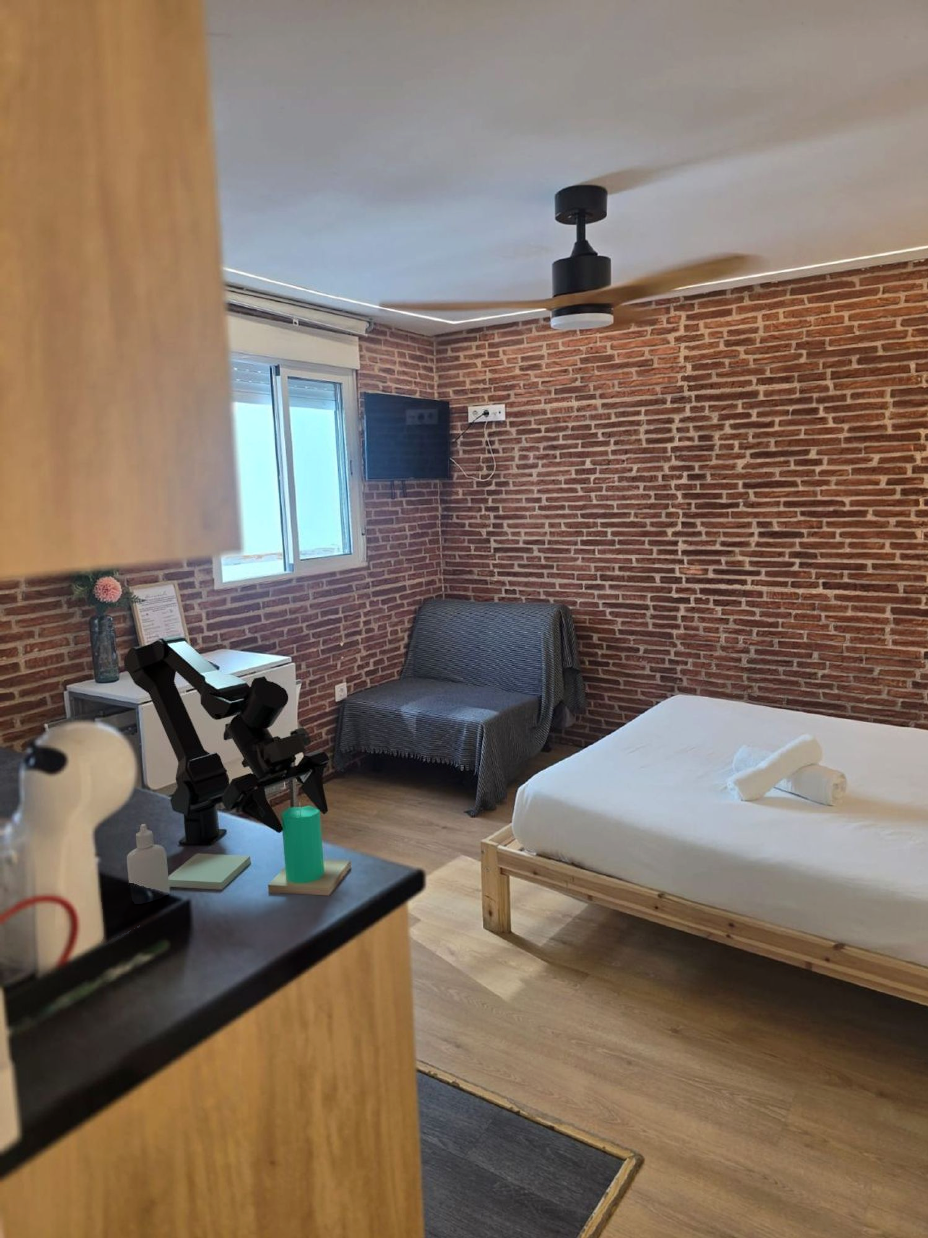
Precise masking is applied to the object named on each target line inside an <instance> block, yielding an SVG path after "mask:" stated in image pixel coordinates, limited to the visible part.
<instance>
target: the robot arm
mask: <svg viewBox="0 0 928 1238" xmlns="http://www.w3.org/2000/svg"><path fill="white" fill-rule="evenodd" d="M123 664H124V668H125V670H126V672H127V673H129V676H130V678H131V680H132V681H133V683H134V684H135V685H136V686H137V687H139V688H140V689H141V690H144V692H146V694H148V695H149V697H150V700H151V702H152V704H153V706H154V709H155V712H156V714H157V716H158V718H159V720H160V722H161V725H162V727H163V729H164V732H165V735H166V737H167V739H168V741H169V743H170V747H171V748H172V751H173V752H174V756H175V757H176V759H177V762H178V763H177V768H176V772H175V781H176V785H177V787H176V789H175V791H174V792H173V794H172V796H171V797H170V798H169V799H170V800H169V802H170V806H171V809H172V811H173V812H176V813H178V814H181V815H183V828H184V836H183V837H182V838H181V839H179V840H178V845H195V846H196V845H197V846H210V845H212V844H214V843H215V842H216V841H217V840H219V839H220V838H221V837H222V836H223V835H225V834H226V833H227V832H228V830H227V829H225V828H220V826H219V815H218V813H219V812H218V805H219V804H222V805H223V806H224V809H225V810H226V811H227V812H231V811H233V810H234V811H235V813H236V814H239V813H242V814H245V815H247V816H248V817H251V818H253V819H255V820H257V821H259V822H260V823H261V824H263V825H265V826H266V827H268V828H269V829H271V830H272V831H275V832H276V833H279V834H280V833H283V832H282V830H283V827H282V822H281V821H280V819H279V817H278V815H277V814H276V813H275V811H274V809H273V807H272V806H271V804H270V803H269V801H268V800H267V796H266V791H265V790H266V789H269V788H272V787H274V786H277V785H280V784H282V783H285V782H288V781H292V780H293V779H295V781H297V783H300V784H301V785H300V787H299V788H300V789H301V791H302V792H303V794H305V795H306V797H307V798H308V799H309V800H310V801H311V803H312V804H313V805H314V806H315V808H316V809H318V810H320V813H321V814H322V815H326V814H327V813H328V811H329V808H328V804H327V799H326V793H325V790H324V782H323V781H324V780H323V777H324V773H325V772H326V771H327V769H328V765H330V763H331V762H332V759H331V758H330V756H329V754H328V753H327V752H326V751H325V750H322V749H319V750H315V751H313V752H310V753H306V752H307V749H306V747H308V746H310V745H311V744H312V739H311V737H310V734H309V732H308V731H307V730H306V729H305V728H304V727H303V726H302V727H299V728H295V729H294V730H291V731H290V733H289V736H288V735H287V736H286V737H282V738H281V737H280V736H279V735H277V736H273V735H272V734H271V732H270V730H269V728H271V727H272V726H273V725H274V724H275V722H276V720H277V719H278V718H279V717H280V715H281V713H282V712H283V710H284V709H285V707H286V705H287V704H288V702H289V694H288V692H287V690H286V689H285V687H282V686H281V685H279V684H278V683H277V682H274V681H270V680H268V679H267V677H266V676H259V677H254V678H253V680H252V682H251V684H250V685H249V684H248V682H246V680H243V679H241V678H240V677H238V676H236V675H233V674H229V673H224V672H221V671H220V670H218V669H217V668H216V667H215V666H213V664H212V663H211V662H209V661H208V660H207V659H206V658H205V657H204V656H202V655H201V654H200V653H199V652H198V651H196V649H194V648H193V647H192V646H191V645H190V644H189V643H188V640H187V639H186V638H185V637H184V636H182V635H181V636H180V635H173V636H167V637H161V638H159V639H157V640H155V641H152V643H150V644H146V645H139V646H133V647H130V648H129V649H128V651H127V654H125V655H124V658H123ZM177 674H178V675H179V676H180V677H181V678H182V679H184V680H185V681H186V682H187V683H188V684H189V685H190V686H191V687H192V688H194V690H196V692H197V693H198V694H199V696H200V705H201V706H202V708H203V709H204V710H205V712H206V713H207V715H208V716H209V717H211V718H212V719H213V720H216V721H219V720H222V719H226V718H231V717H232V718H231V720H230V722H228V723H225V725H224V726H225V728H224V731H223V740H224V741H228V740H231V739H232V741H233V742H234V744H235V747H237V749H238V751H239V753H240V754H241V755H242V756H241V757H243V760H242V761H241V765H242V767H243V768H244V769H245V768H249V769H250V770H251V772H252V773H251V772H250V773H245V774H243V775H241V776H238V777H234V778H232V779H231V781H230V777H229V775H228V770H227V769H226V767H225V766H224V763H223V762H222V761H223V760H222V758H221V756H220V755H219V753H217V752H213V753H210V752H208V751H207V750H205V748H204V745H203V744H202V742H201V740H200V736H199V735H198V733H197V730H196V728H195V725H194V723H193V720H192V719H191V717H190V715H189V712H188V710H187V708H186V706H185V703H184V701H183V699H182V696H181V694H180V691H179V688H178V687H177V685H176V682H175V679H176V675H177ZM301 753H306V754H304V755H303V756H302V757H301V759H300V760H299V762H298V763H297V764H296V765H294V766H292V764H293V763H294V762H296V761H297V756H296V755H299V754H301Z"/></svg>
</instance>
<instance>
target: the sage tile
mask: <svg viewBox="0 0 928 1238" xmlns="http://www.w3.org/2000/svg"><path fill="white" fill-rule="evenodd" d="M250 864H251V855H239V854H238V855H237V854H219V853H217V854H216V853H195V854H194V855H193V856H191V858H189V859H188V860H187V861H185V862H184V863H183V864H182V865H181V866H179V867H178V868H176V869H175V870H174V871H173V872H171V874H168V878H169V888H172V887H173V888H185V889H186V888H187V889H206V890H207V889H208V890H220V891H221V890H223V889H224V888H225V887H226V886H228V884H230V882H232V881H233V880H235V878H236V877H238V875H239V874H241V872H242V871H244V869H246V867H248V866H249V865H250Z"/></svg>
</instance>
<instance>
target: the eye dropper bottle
mask: <svg viewBox="0 0 928 1238" xmlns="http://www.w3.org/2000/svg"><path fill="white" fill-rule="evenodd" d="M153 836H154V835H153V831H152V830H149V829H147V825H146V823H142V824H140V828H139V832H136V833H135V843H136V848H134V849H133V850H131V851H130V852H129V853H128V854H127V856H126V863H127V864H126V866H127V877H128V884H129V883H134V884H137V885H139V886H144V887H146V888H151V889H156V890H159V891H163V892H168V893H169V894H170V893H171V889H170V888H171V887H169V878H168V876H169V872H168V870H169V869H168V860H167V852H166V849H165V848H164V847H163V846H162V845H160V844H156V843H155V844H154V837H153Z"/></svg>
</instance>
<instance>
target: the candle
mask: <svg viewBox="0 0 928 1238" xmlns="http://www.w3.org/2000/svg"><path fill="white" fill-rule="evenodd" d="M298 803H299V804H298V805H299V806H298V807H297V806H290V807H289V808H287V809H285V810H284V811H283V812H282V813H281V814H280V819H281V825H282V827H283V830H282V832H281V833H282V841H283V842H282V843H283V845H282V846H283V855H284V868H285V869H286V878H287V879H288V881H291V882H294V883H307V882H311V881H315V880H317V879H319V878H320V877H322V875H323V874H324V862H323V859H324V851H323V841H322V839H323V838H322V837H323V836H322V821H321V811H320V810H318V808H317V807H314V806H312V805H306V806H301V802H298Z"/></svg>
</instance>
